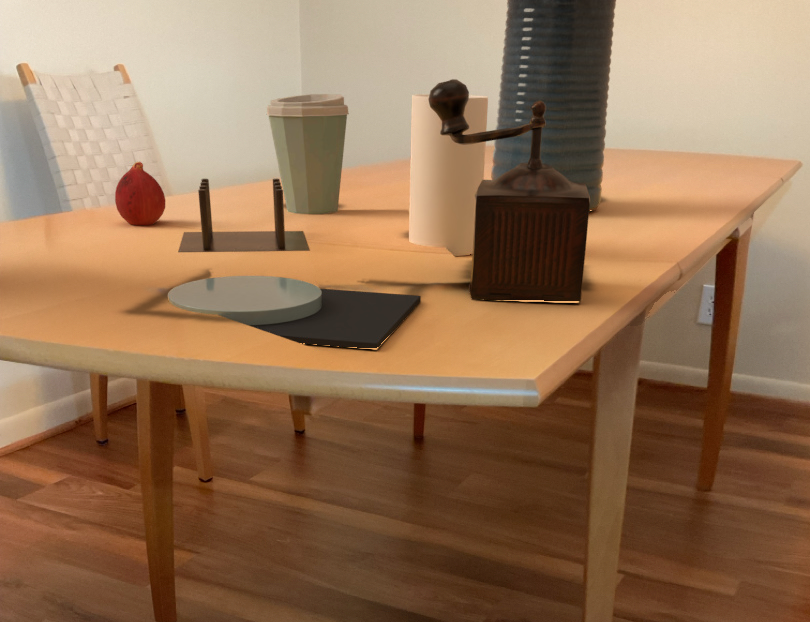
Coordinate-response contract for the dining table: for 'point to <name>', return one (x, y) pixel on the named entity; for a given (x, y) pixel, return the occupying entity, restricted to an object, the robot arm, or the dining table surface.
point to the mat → (349, 319)
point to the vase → (557, 86)
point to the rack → (242, 240)
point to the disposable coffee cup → (309, 149)
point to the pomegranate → (139, 197)
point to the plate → (249, 298)
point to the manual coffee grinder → (520, 215)
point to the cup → (444, 177)
